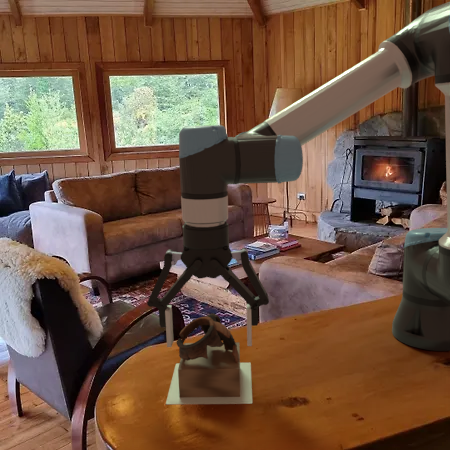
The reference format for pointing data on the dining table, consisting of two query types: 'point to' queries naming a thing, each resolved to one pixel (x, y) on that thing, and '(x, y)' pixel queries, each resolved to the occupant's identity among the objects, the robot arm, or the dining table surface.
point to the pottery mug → (206, 338)
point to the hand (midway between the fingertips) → (209, 343)
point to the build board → (243, 399)
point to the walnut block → (210, 374)
